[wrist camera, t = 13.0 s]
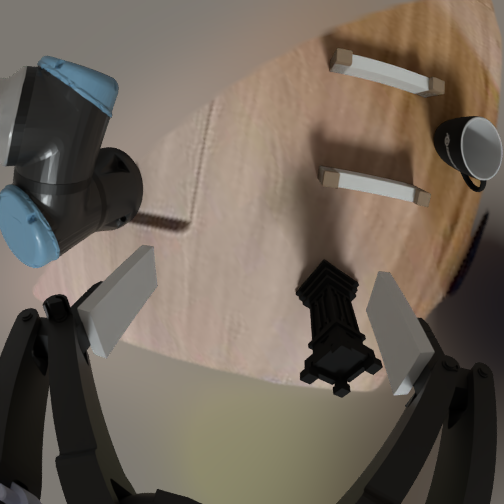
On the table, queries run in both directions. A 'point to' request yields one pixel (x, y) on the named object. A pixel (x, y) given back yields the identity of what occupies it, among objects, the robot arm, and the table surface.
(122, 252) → the table surface
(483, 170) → the mug
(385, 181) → the chute
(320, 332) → the chess piece
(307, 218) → the table surface
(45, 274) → the table surface
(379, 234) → the table surface
